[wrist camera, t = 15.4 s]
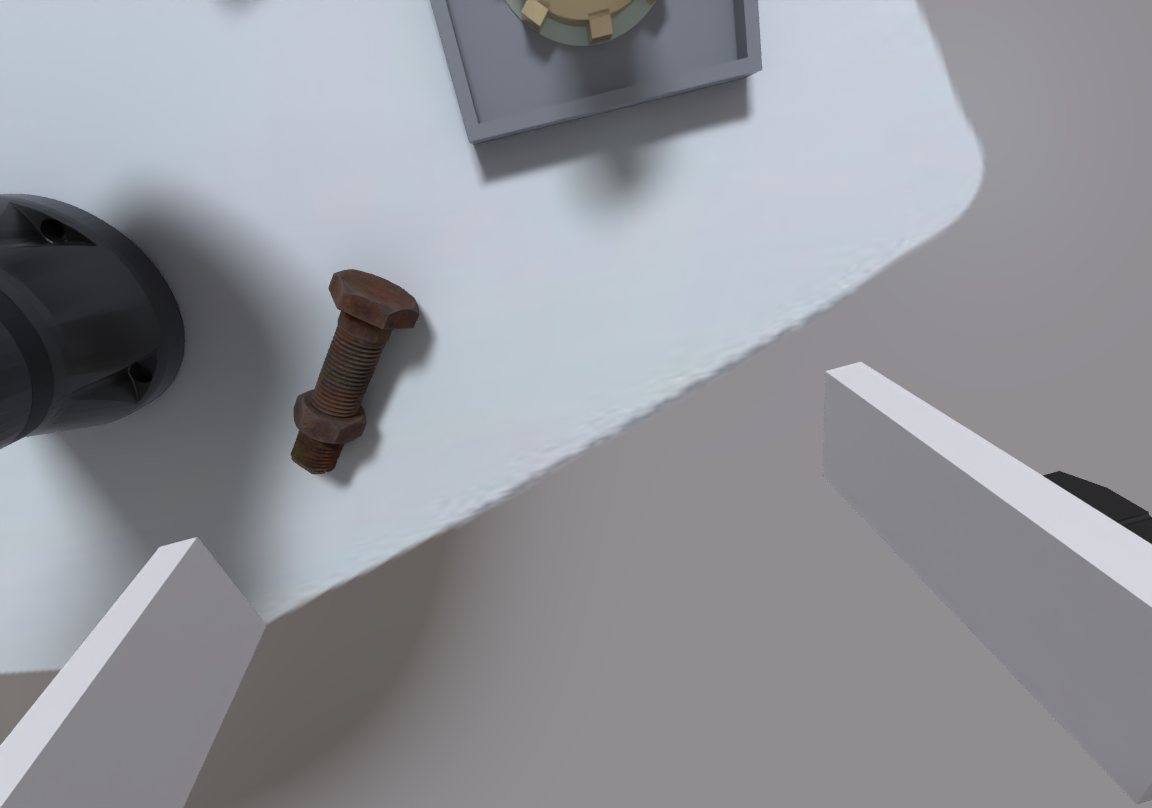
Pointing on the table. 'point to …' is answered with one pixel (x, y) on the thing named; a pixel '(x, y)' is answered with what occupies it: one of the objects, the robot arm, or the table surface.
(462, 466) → the table surface
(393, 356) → the table surface
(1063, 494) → the robot arm
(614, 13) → the toothed flange peg
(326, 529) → the table surface
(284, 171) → the table surface
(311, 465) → the bolt
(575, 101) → the carrier tray
